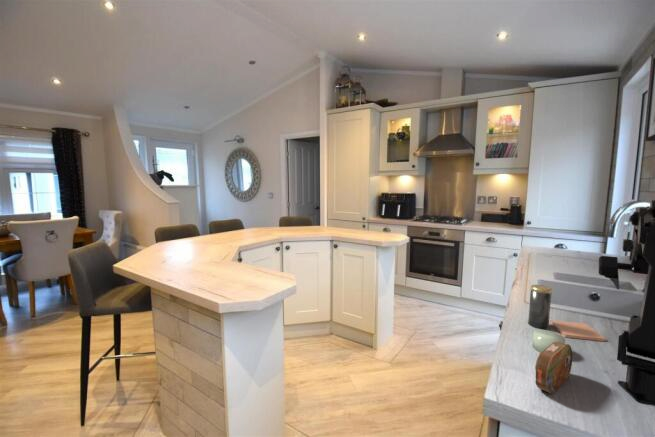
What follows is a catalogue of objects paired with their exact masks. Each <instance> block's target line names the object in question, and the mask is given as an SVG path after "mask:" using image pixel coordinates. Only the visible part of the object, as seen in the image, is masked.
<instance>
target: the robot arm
mask: <svg viewBox="0 0 655 437" xmlns="http://www.w3.org/2000/svg"><path fill="white" fill-rule="evenodd" d="M628 223H630V224H631V225H632V226H634V233H635V235H634V236H635V237H634V240H632V239H625V238H623V240H622V248H621V249H622V252H626V253H629V261H630V263H623V262H618V261H619V260H618V257H617V256H608V255H607V256H606V255H600V256H599V257H598V275H600V276H603V277H604V278H607V279H609V280H610V281H611V282H612V283H613V285H614V286H615V288H616V290H620V288H621V287H620V276H619V275H620V274H619V272H624V273H633V274H641V275H646V279H645V280H646V282H645V288H644V293H643V298H642V304H641V309H640V315H632V316H631V317H629V321H628V324H627V330H625V329H624V330H623V332H622V333H621V334H620V335H619V336H618V339H617V340H618V342H617V352H616V353H617V355H616V360H618V362H621V365H623V366H627V369H626V377H625V381H623V380H622V381H621V380H617V384H618V385H619V386H620V387H621V388H622V389H623V390H624V391H625V392H626V393H628V394H629V396H631V397H632V398H633V399H634V400H635V401H636V402H639V403H644V404H645V403H646V404H653V405H655V361H652V360H655V199H651V200H650V204H649V206H645V207H644V206H643V207H640V206H639V207H638V208H637V211H633V213H632V214H631V215H630V216H629V217H628ZM627 353H629V354H632V355H629V354H627ZM634 355H636V356H634ZM637 356H639V357H637ZM641 357H642V358H641ZM643 357H644V358H643ZM645 358H648V359H645ZM649 359H651V360H649Z"/></svg>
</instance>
